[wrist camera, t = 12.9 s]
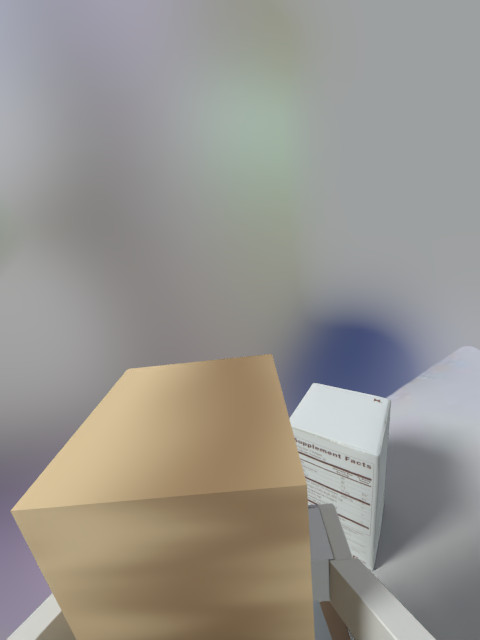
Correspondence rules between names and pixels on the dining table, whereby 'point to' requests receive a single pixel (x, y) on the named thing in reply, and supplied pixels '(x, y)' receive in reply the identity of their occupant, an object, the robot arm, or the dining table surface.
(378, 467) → the supplement box
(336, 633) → the tower base slab
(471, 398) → the dining table surface
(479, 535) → the dining table surface
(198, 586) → the oak block
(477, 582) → the dining table surface
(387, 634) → the robot arm
